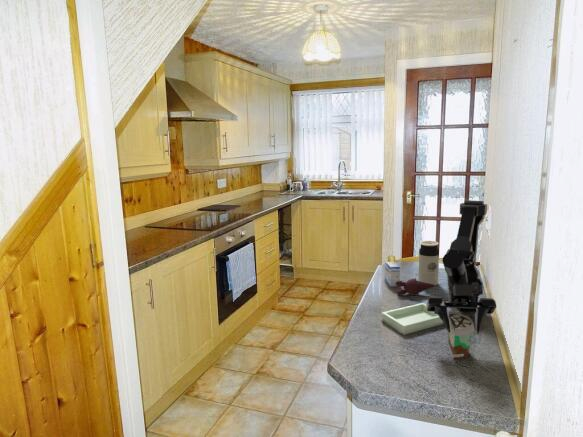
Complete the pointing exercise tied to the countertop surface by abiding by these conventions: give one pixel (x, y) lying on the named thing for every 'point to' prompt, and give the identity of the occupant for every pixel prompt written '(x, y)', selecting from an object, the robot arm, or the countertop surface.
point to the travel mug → (428, 262)
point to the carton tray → (411, 318)
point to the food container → (459, 334)
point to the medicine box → (392, 273)
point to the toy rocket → (413, 287)
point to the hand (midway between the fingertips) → (463, 333)
